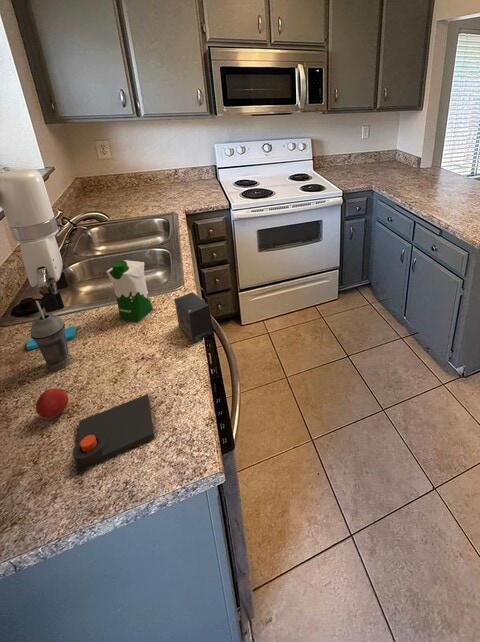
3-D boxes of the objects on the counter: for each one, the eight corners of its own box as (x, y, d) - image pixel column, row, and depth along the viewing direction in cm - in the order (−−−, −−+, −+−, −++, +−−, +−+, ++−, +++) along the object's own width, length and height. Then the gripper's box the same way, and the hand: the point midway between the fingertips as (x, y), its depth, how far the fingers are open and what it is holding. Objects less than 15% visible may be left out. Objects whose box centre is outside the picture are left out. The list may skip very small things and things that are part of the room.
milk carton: (115, 320, 115) (101, 266, 109) (136, 304, 124) (123, 252, 117) (138, 324, 113) (125, 269, 106) (157, 308, 121) (146, 255, 115)
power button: (81, 454, 71) (79, 449, 70) (82, 443, 73) (80, 438, 72) (96, 448, 72) (95, 442, 72) (97, 437, 74) (95, 432, 74)
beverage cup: (51, 378, 93) (28, 314, 86) (38, 368, 96) (15, 305, 90) (80, 361, 99) (61, 299, 92) (68, 351, 102) (48, 291, 96)
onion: (40, 431, 79) (30, 404, 76) (41, 413, 83) (31, 386, 80) (72, 417, 82) (63, 390, 79) (71, 400, 86) (62, 374, 84)
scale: (75, 474, 70) (72, 463, 69) (79, 425, 80) (76, 415, 79) (154, 438, 77) (152, 428, 76) (149, 398, 87) (146, 388, 86)
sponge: (29, 336, 107) (23, 346, 102) (76, 324, 112) (73, 333, 107) (31, 340, 108) (25, 351, 102) (77, 329, 113) (74, 338, 107)
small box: (213, 333, 108) (209, 304, 105) (193, 344, 104) (187, 314, 101) (197, 318, 116) (193, 290, 112) (178, 327, 111) (172, 299, 108)
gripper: (20, 219, 80) (43, 286, 85) (2, 248, 65) (30, 325, 71) (61, 213, 83) (80, 277, 89) (51, 239, 69) (75, 313, 75)
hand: (58, 298), depth 80 cm, fingers open, 9 cm apart
